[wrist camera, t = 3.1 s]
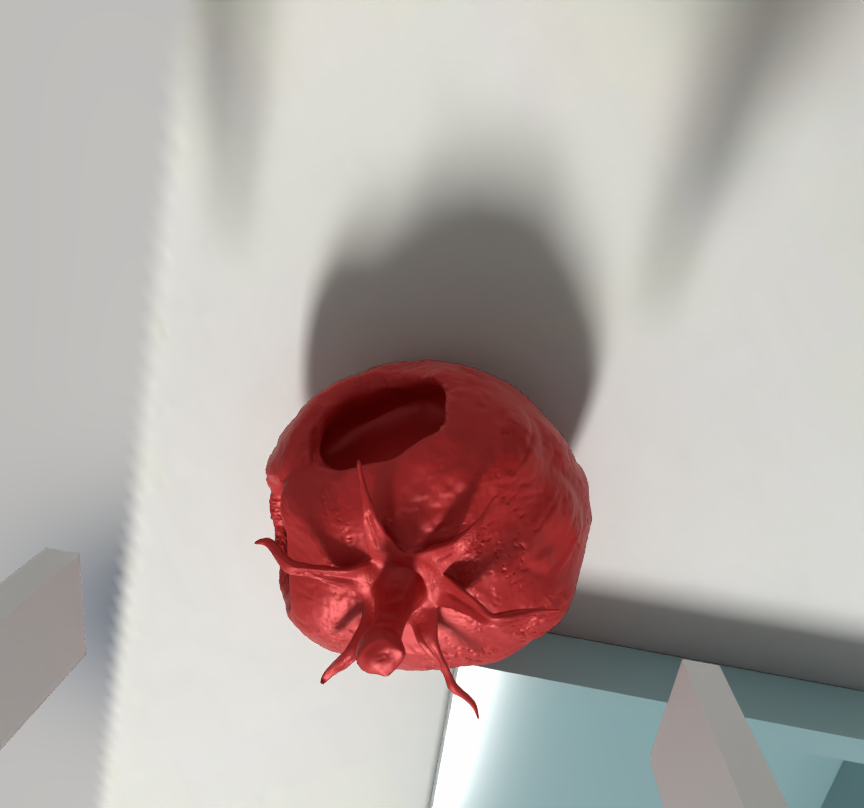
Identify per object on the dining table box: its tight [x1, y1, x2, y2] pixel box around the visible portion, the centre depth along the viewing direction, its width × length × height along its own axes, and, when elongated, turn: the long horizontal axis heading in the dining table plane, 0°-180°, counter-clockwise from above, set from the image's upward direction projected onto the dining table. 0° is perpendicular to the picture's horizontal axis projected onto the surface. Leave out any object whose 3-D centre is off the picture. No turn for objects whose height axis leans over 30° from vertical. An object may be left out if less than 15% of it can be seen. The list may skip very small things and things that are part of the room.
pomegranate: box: [255, 360, 592, 719], centre depth 18 cm, size 10×10×9 cm
